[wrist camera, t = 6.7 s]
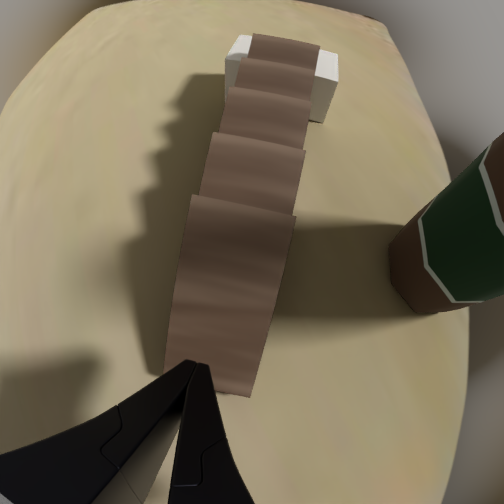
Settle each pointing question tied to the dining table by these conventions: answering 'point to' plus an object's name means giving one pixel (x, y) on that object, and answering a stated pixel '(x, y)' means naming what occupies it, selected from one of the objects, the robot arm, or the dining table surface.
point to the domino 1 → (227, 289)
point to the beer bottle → (455, 241)
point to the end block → (322, 82)
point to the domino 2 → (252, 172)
